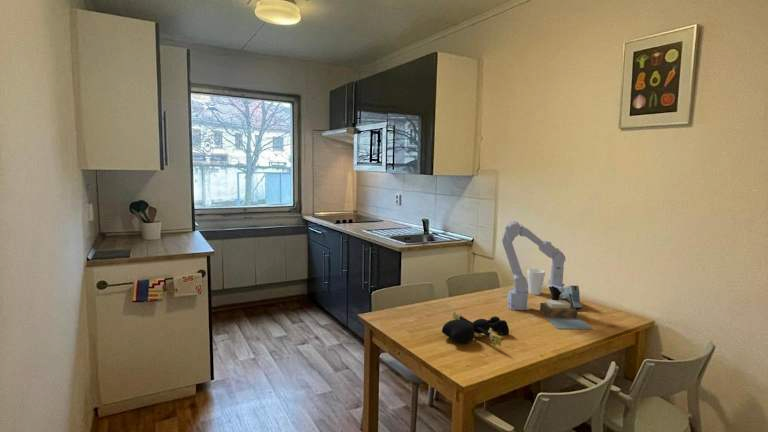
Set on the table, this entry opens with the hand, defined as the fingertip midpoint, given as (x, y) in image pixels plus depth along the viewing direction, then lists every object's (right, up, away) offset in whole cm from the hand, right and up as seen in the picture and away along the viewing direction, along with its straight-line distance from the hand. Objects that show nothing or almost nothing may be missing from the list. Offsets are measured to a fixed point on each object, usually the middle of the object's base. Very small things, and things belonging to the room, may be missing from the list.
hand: (554, 301), depth 214 cm
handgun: (+13, -4, +12) cm, 18 cm away
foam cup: (0, -1, +30) cm, 30 cm away
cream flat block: (0, -1, -4) cm, 4 cm away
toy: (-47, -9, -33) cm, 58 cm away
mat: (0, -7, -16) cm, 17 cm away
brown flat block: (0, -5, -4) cm, 7 cm away
